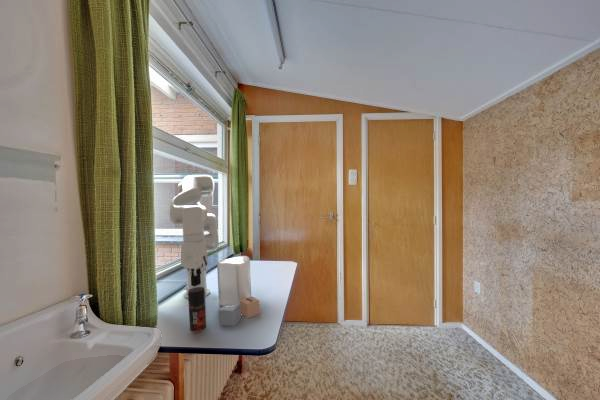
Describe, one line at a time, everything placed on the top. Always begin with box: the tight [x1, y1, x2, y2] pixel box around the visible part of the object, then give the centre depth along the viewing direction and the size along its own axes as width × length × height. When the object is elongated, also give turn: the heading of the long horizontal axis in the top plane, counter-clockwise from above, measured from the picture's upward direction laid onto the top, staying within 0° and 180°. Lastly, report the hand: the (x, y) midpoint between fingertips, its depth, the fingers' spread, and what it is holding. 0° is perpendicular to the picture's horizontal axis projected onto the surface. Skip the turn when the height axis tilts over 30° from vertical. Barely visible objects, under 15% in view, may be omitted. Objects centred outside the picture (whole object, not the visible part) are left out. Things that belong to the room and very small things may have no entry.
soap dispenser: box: [216, 255, 252, 307], centre depth 126 cm, size 15×14×22 cm
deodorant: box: [188, 287, 207, 333], centre depth 103 cm, size 6×6×15 cm
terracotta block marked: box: [240, 295, 261, 319], centre depth 114 cm, size 6×6×6 cm
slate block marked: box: [218, 304, 241, 327], centre depth 107 cm, size 6×6×6 cm
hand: (196, 284), depth 103 cm, fingers closed
